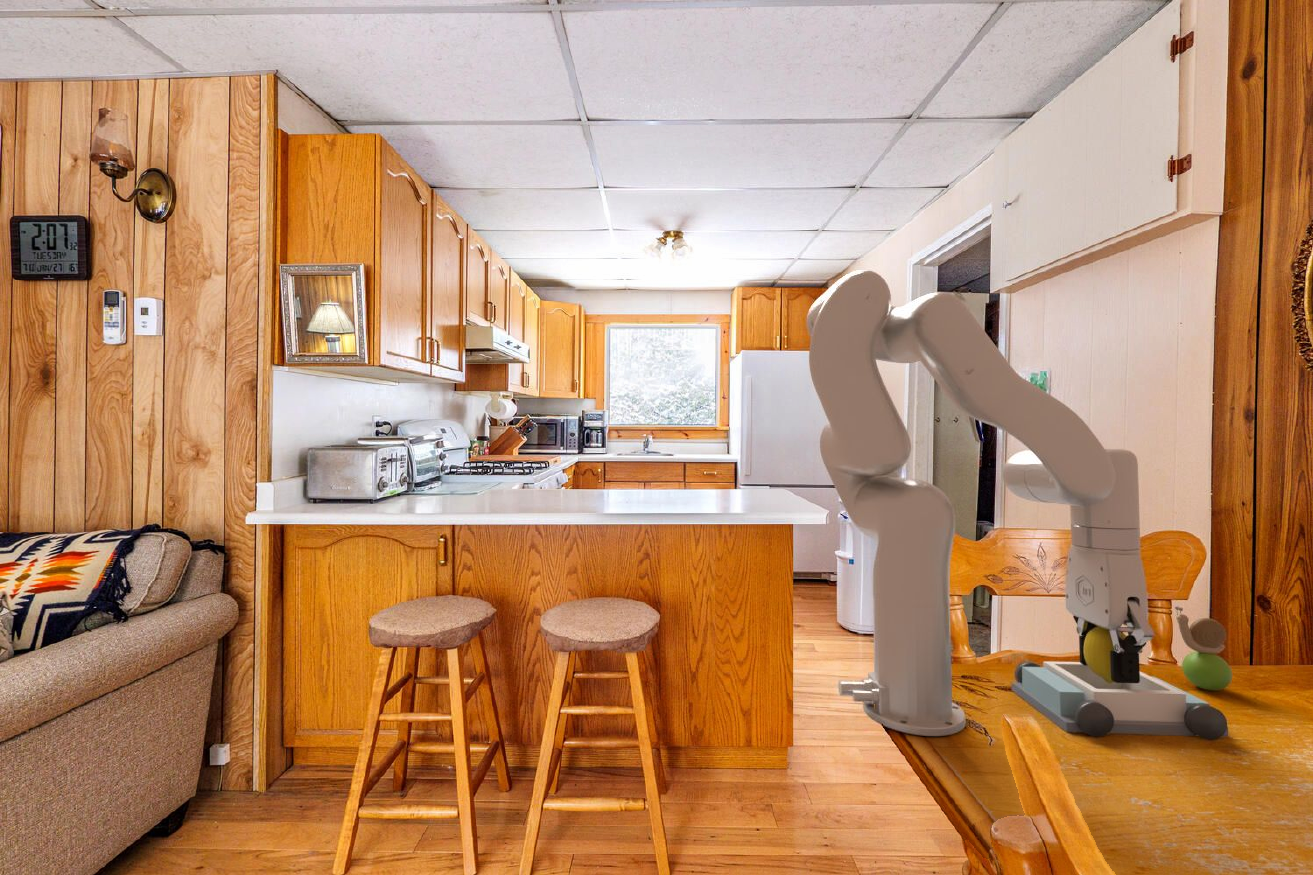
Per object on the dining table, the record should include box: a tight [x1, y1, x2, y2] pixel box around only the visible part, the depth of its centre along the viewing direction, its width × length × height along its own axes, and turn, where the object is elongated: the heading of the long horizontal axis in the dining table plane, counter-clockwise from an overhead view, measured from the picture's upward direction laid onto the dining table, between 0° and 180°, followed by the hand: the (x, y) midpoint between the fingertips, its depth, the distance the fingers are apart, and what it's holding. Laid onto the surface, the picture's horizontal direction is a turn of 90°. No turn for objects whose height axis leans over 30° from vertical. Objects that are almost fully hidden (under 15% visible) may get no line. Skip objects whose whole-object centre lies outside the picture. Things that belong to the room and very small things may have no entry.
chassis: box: [1011, 660, 1230, 741], centre depth 79 cm, size 19×15×5 cm
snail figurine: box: [1174, 605, 1233, 691], centre depth 87 cm, size 5×6×12 cm
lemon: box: [1084, 626, 1127, 684], centre depth 79 cm, size 6×6×8 cm
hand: (1108, 671), depth 79 cm, fingers closed on lemon, 5 cm apart
